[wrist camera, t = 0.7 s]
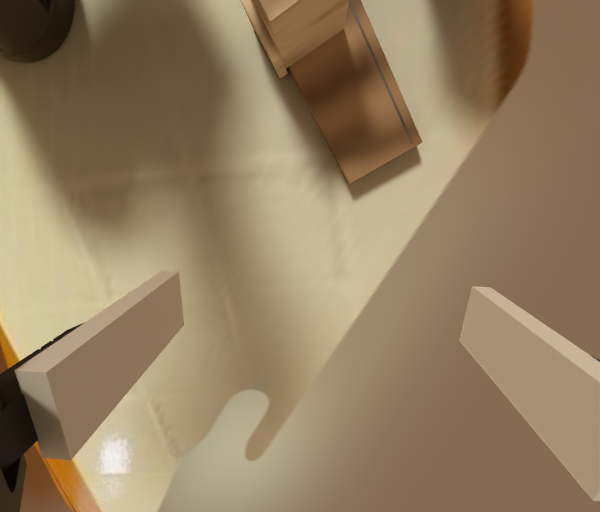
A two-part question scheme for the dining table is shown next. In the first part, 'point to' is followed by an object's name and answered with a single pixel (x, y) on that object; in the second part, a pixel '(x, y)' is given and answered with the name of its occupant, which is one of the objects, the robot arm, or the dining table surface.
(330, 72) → the plank
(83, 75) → the dining table surface
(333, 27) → the tan block with peg
